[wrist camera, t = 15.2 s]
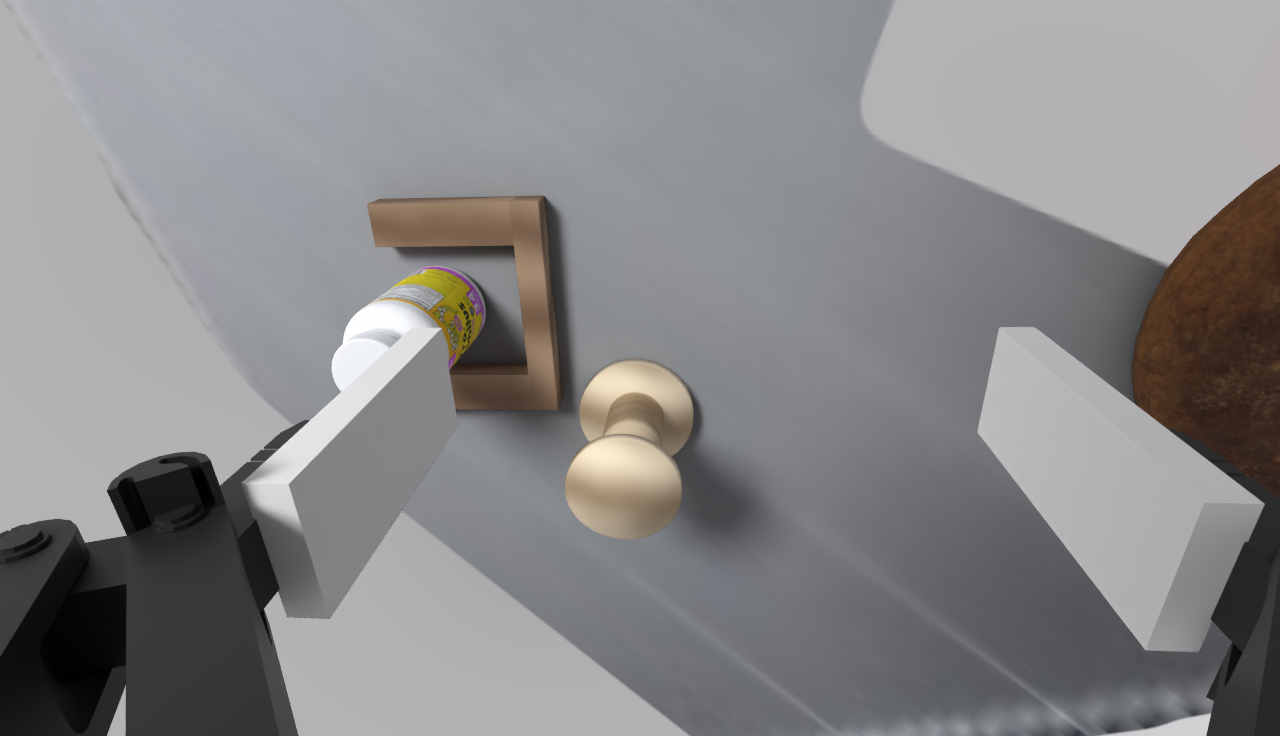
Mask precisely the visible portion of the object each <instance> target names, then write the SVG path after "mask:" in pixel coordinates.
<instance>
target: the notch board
mask: <svg viewBox="0 0 1280 736" xmlns="http://www.w3.org/2000/svg"><path fill="white" fill-rule="evenodd" d="M367 207H368V212H369V217H370V222H371V226H372V231H373V236H374V241H375V246H376V247H425V246H506V245H514V252H515V260H516V269H517V278H518V287H519V296H520V304H521V313H522V322H523V331H524V339H525V348H526V357H527V364H454V365H453V366H452V368H451V369H450V370H449V373H450V379H451V385H452V391H453V397H454V403H455V409H479V410H558V409H559V406H560V404H561V401H562V399H563V397H562V386H561V375H560V364H559V353H558V342H557V331H556V320H555V309H554V299H553V288H552V277H551V266H550V255H549V244H548V233H547V222H546V211H545V200H544V196H512V197H459V198H406V199H379V200H376V201H374V202H371V203H369V204H367Z"/></svg>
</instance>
